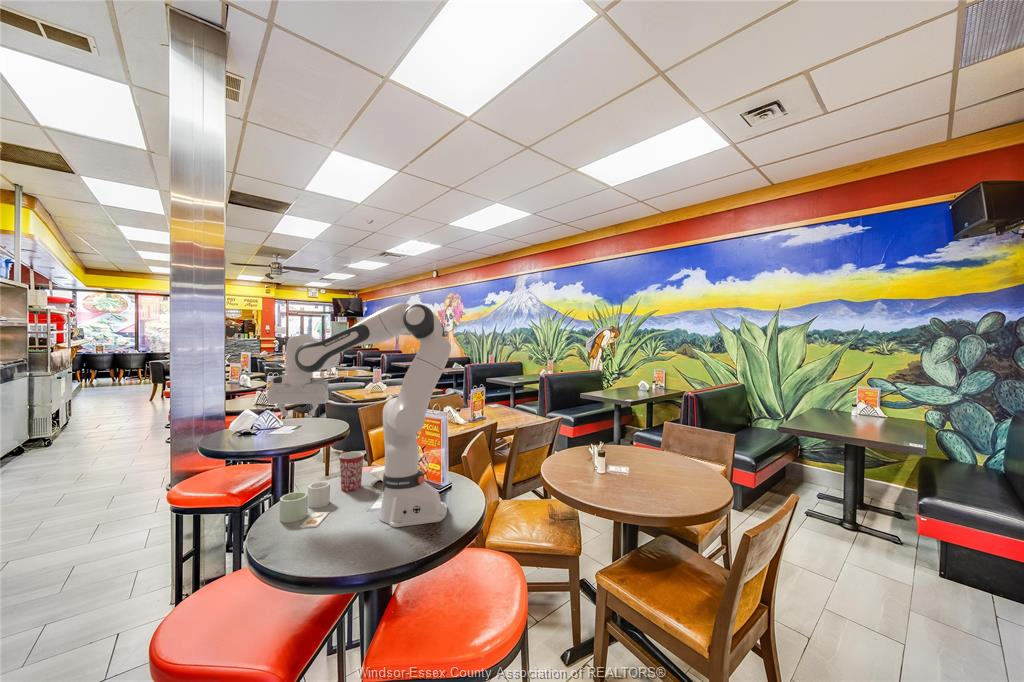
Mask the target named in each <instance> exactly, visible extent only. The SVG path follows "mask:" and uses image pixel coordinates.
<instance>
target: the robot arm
mask: <svg viewBox="0 0 1024 682" xmlns="http://www.w3.org/2000/svg"><path fill="white" fill-rule="evenodd" d="M407 332H409V333H410V334H411V335H412V337H413V338H415V339H416V340H417V341H419V348H418V350H417V352H416V354H415V356H414V358H413V359H412V361H411V364H410V365H409V367H408V368H407V371H406V373H405V375H404V377H403V381H402V384H401V387H400V390H399V392H398V395H397V397H393V398H391V399H389V400H387V402H386V403H385V404H384V406H383V409H382V431H383V442H384V473H383V476H382V491H383V494H382V495H383V496H382V502H381V507H380V511H379V514H378V519H379V520H380V521H381V522H383V523H386V524H388V525H390V526H391V527H392V528H399V527H407V526H416V525H423V524H431V523H439V522H442V521H443V520H444V519H445V518H446V516H447V513H448V506H447V504H446V502H444V501H441V496H440V493H439V491H438V490H437V489H436V488H435V487H433V486H432V485H430V484H429V483H427V482H426V481H425V471H424V470H422V471H421V470H419V455H420V454H419V445H418V438H417V434H418V433H420V431H421V430H422V429H423V427H424V425H425V421H426V415H427V411H428V408H429V406H430V402H431V399H432V396H433V393H434V390H435V388H436V386H437V384H438V382H439V380H440V378H441V376H442V374H443V371H444V370H445V367H446V365H447V364H448V360H449V357H450V354H451V351H452V345H451V342H450V341H449V340H448V339H447V338H445V333H446V331H445V328H444V325H443V324H442V322H441V321H440V319H439V317H438V316H437V315H436V313H435V312H433V311H432V310H431V308H429V307H428V306H427V305H424V304H421V303H416V304H412V305H410V304H409V303H407V302H402V301H401V302H398V303H396V304H392V305H390V306H389V305H388V306H387V307H384V308H383V309H380V310H377V311H376V312H374V313H373V314H371V315H369V316H367V317H365V319H362V320H361V321H360V322H357V323H356V324H354V325H352V326H351V327H349V328H346V329H345V330H342V331H341V332H339V333H336V334H334V335H332V336H330V337H328V338H326V339H323V340H319V339H317V338H316V337H314V336H313V335H311V334H307V333H304V334H297V335H292V336H290V337H289V338H288V340H287V342H286V348H285V361H286V366H285V373H283V374H280V375H278V376H277V375H276V376H273V377H271V378H270V379H269V383H270V385H269V387H268V390H267V397H266V398H267V400H266V401H267V402H268V404H270V405H277V406H278V409H279V410H280V412H281V413H280V414H281V417H287V416H288V415H289V411H288V410H286V408H285V407H286V405H305V404H306V405H311V407H312V409H311V410H309V411H308V417H314V416H315V415H316V410H317V409H318V407H319V405H320V404H321V405H322V404H326V403H328V401H329V398H330V397H329V396H330V395H329V387H330V385H329V381H328V380H327V379H325V378H315V377H314V376H313V375H314V373H315V372H317V371H324V370H330V369H333V368H335V367H336V366H337V365H338V364H339V363H340V361H341V353H343V352H344V351H347V350H349V349H351V348H354V347H358V346H365V345H375V344H380V343H383V342H387V341H388V340H391V339H393V338H395V337H397V336H399V335H401V334H402V333H407Z"/></svg>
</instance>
